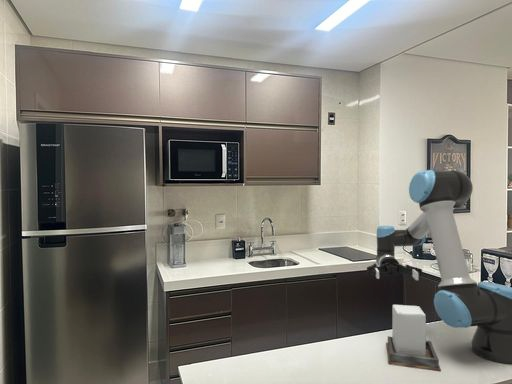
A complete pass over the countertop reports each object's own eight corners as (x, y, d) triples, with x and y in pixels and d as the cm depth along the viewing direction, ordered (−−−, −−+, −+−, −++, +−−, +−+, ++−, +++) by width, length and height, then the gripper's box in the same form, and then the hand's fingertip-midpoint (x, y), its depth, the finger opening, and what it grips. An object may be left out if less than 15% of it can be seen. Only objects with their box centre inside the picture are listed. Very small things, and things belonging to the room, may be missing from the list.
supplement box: (426, 361, 113) (426, 314, 113) (396, 359, 115) (396, 313, 115) (419, 349, 122) (419, 305, 122) (391, 346, 124) (392, 303, 123)
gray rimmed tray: (432, 349, 123) (432, 340, 122) (440, 371, 108) (440, 361, 108) (386, 344, 127) (386, 335, 127) (388, 364, 113) (388, 354, 113)
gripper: (420, 274, 149) (434, 287, 128) (358, 272, 154) (362, 284, 134) (420, 256, 149) (434, 266, 128) (358, 255, 154) (362, 264, 134)
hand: (397, 276), depth 131 cm, fingers open, 13 cm apart
